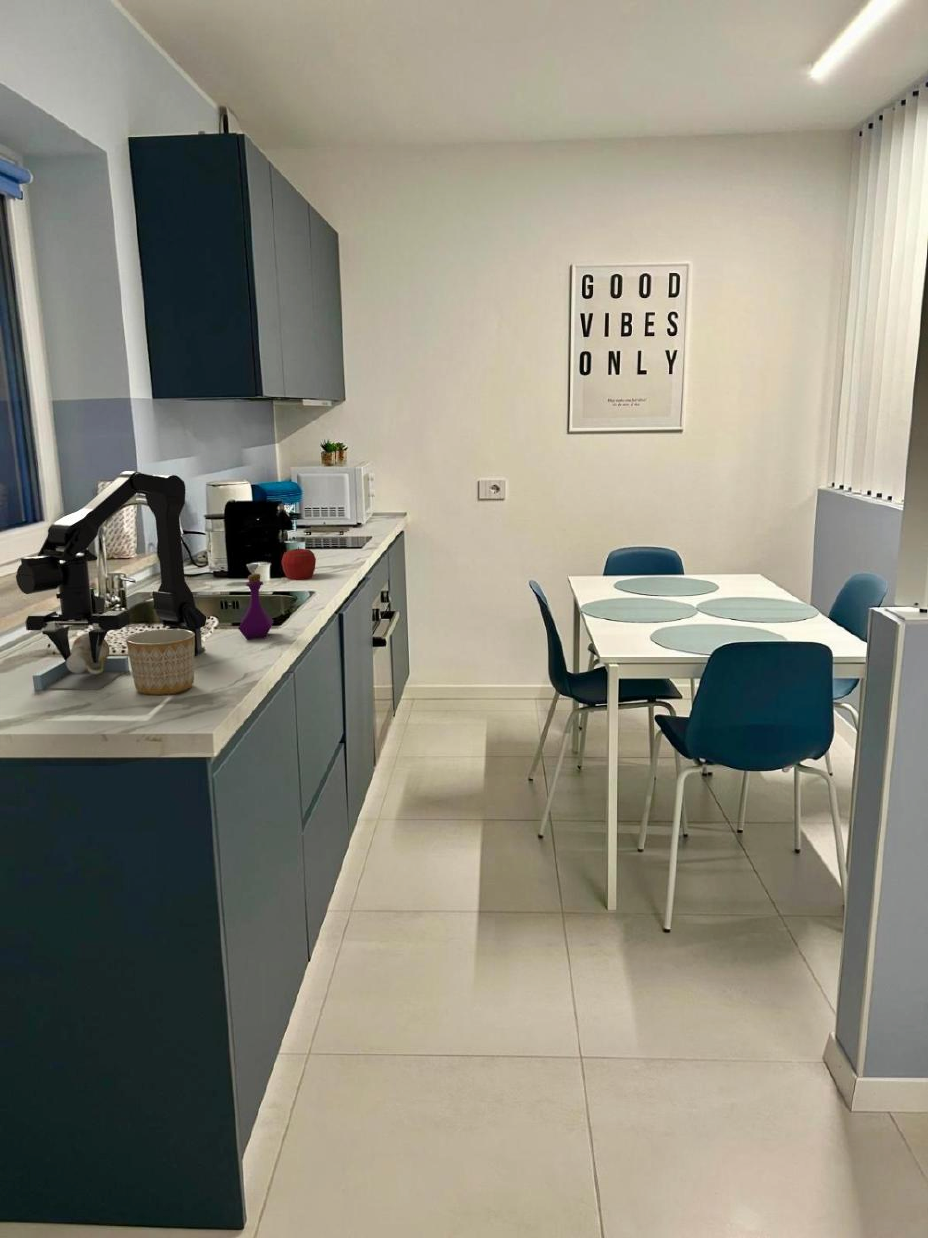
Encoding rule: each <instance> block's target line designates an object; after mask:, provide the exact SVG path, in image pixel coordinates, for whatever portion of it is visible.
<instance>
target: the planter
mask: <svg viewBox="0 0 928 1238" xmlns="http://www.w3.org/2000/svg"><path fill="white" fill-rule="evenodd" d="M125 640H126V646H127V647H126V648H127V652H128V656H129V657H128V659H129V662H130V668H131V673H132V677H133V679H132V680H133V683H134V684H133V685H134V687H135V689H136V690H137V691H138V692H139V693H140V694H144V695H150V696H162V695H163V696H164V695H170V694H171V695H172V694H178V693H181V692H184V691H186V690H188V689H190V688H191V687H192V686H193V684H194V682H195V656H194V648H195V634H194V632H192V631H189V630H183V629H168V628H165V629H164V628H163V629H162V628H161V629H153V630H146V631H145V630H144V631H141V632H137V633H133V634H131V635H129V636H127V637H126V639H125Z"/></svg>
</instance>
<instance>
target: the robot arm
mask: <svg viewBox="0 0 928 1238" xmlns="http://www.w3.org/2000/svg"><path fill="white" fill-rule="evenodd" d="M136 494H141V495H144V497H145V500H146V501H145V502H146V504H147V506H148V508H149V509H150V511H151V513H152V514H153V516H154V518H155V529H156V537H157V546H158V547H157V549H158V559H159V569H160V580H161V581H160V582H161V583H160V585H159V588H158V589H157V590H153V591H152V594H151V596H152V599H153V601H152V602H153V605H152V610H155V614H156V616H157V617H158V618H159V619H160V621H161V623H162V625H163V627H168V628H167V629H183V630H189V631H192V632H194V634H195V648H194V657H196V656H199V655H200V653H202V652H203V651H204V650H205V649H206V648H205V646H203V644H202V628H205V627H206V623H207V620H208V619H207V618H208V617H207V616H206V615H205V614H204V613H203V612H202V611H201V610H200V609H198V608H197V607H196V602H195V598H194V593H193V591H192V589H190V587H189V585H188V583H187V582H186V578H185V567H184V557H183V555H184V554H183V546H182V545H183V541H182V533H181V521H180V517H181V516H180V515H181V514H182V511H183V509H184V506H185V504H186V484H185V481H184V480H183V479H182V478H181V477H180V476H178V475H176V474H175V475H174V474H146V473H142V472H139V471H131V470H130V471H127V470H126V471H122V472H121V473H119V474H118V476H117V477H116V478H115V479H114V481H112V482H111V483H110V484H109V485H108V486H107V487H106V488H104V489H103V490H102V491H101V492H100V493H99V494H97V495H96V496H95V497H94V498H93V499H92V500H90V501H89V502H88V503H87V504H86V505H85V506H84V507H83V508H81V509H80V510H78V511H76V512H72V513H71V514H68V515H66V516H63V517H62V518H60V519H58V520H56V521H54V522H53V523H52V524H51V525H50V526H48V529H47V536H46V539H45V540H44V542H43V544H42V546H41V547H40V550H39V552H38V554H37V556H33V557H32V556H31V557H28V556H27V557H21V558H20V562H21V563H20V565H19V566H18V568H17V570H16V574H15V579H16V583H17V586H18V588H19V590H20V591H21V592H22V593H23V594H25V595H31V594H36V593H37V594H38V593H42V592H47V591H48V592H49V591H53V590H57V589H58V592H57V593H55V597H56V599H57V600H59V603H60V613H58V612H57V611H55V610H53V611H52V610H48V611H47V610H46V611H45V610H44V611H41V610H39V611H37V612H34V613H32V614H29V615H28V616H27V617H26V619H25V629H26V631H42V630H43V631H42V635H44V636H47V638H48V639H49V640H50V641H51V643H53V645H54V646H55V648H56V649H57V650H58V652H59V654H60V655H61V656H62V659H63V658H64V660H65V661H67V659H68V658H69V656H70V655H71V648H70V640H69V632H70V631H69V630H70V626H92V627H93V628H92V630H90V631H88V632H87V633H89V640H90V647H91V654H92V659H93V662H94V663H97V662H98V659H99V655H100V651H101V647H102V644H103V641H104V639H106V636H107V634H108V633H109V632H111V631H119V630H122V629H123V628H125V627H127V626H128V625H130V624H131V623H130V622H131V621H130V615H129V613H127V611H126V610H108V611H106V612H105V609H106V608H105V606H106V599H105V598H104V597H101V596H97V595H95V590H94V588H93V587H91V585H90V583H91V581H90V574H89V573H90V572H89V563H88V562H93V561H97V560H98V556H96V555H95V554H94V553H92V552H91V551H90V549H88V548H89V547H91V544H92V543H93V542H94V541H95V539H96V538H97V536H98V533H99V530H100V528H101V527H102V525H103V524H104V523H105V522H107V521H108V519H110V518H111V517H112V516H113V515H114V514H116V513H117V511H119V510H120V509H121V508H122V507H123V506H124V505H125V504H127V503H128V502H129V501H131V499H132V498H133V497H134V496H135V495H136ZM97 614H98V615H97ZM205 651H206V650H205Z"/></svg>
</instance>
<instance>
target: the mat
mask: <svg viewBox="0 0 928 1238" xmlns="http://www.w3.org/2000/svg"><path fill="white" fill-rule="evenodd" d="M124 673H125V672H124V671H103V672H101V673H99V674H90V673H89V672H88V671H84V672H82V673H79V674H76V673H73V672H72V673H70V674H68V675H67V676H65V677H63V678H62V679H60V680H58V681H57V682H55V683H53V684H51V685H50V686H48V687H46V688H45V690H46V691H48V690H49V691H50V690H52V691H53V690H54V691H55V690H56V691H57V690H62V691H63V690H64V691H65V690H68V691H69V690H72V691H73V690H75V691H77V690H82V691H83V690H86V691H87V690H88V691H89V690H90V691H91V690H93V691H94V690H97V691H99V690H100V689H102V688H103V687H105V686H107V685H108V684H110V683H111V682H112V681H114V680H115V679H117V678H118V677H120V676H121V675H123V674H124Z"/></svg>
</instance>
